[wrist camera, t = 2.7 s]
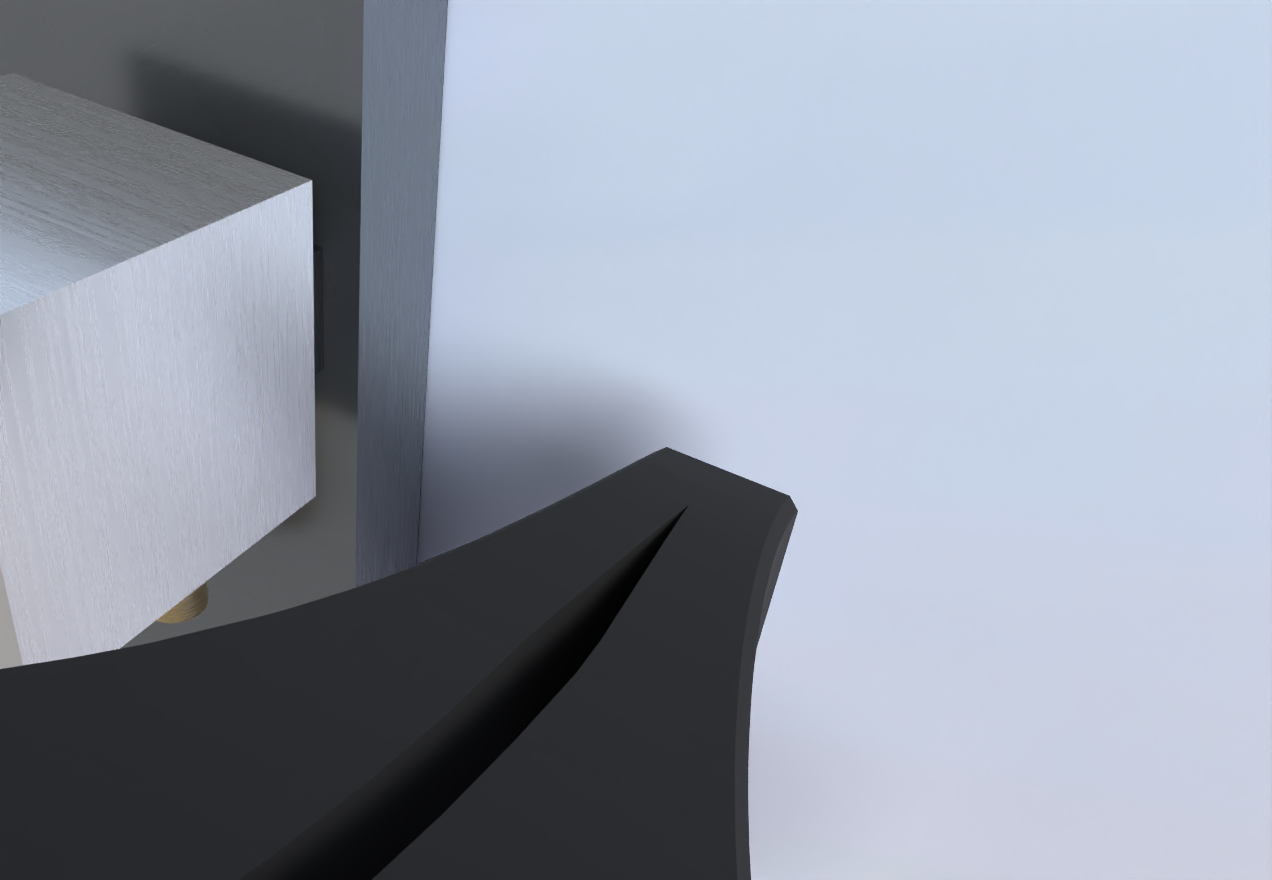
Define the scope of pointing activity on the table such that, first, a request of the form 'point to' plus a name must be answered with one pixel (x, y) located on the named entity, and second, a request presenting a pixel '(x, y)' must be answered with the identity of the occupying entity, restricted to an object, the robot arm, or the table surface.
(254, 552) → the bolt plate
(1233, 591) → the table surface
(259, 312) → the sliding block
